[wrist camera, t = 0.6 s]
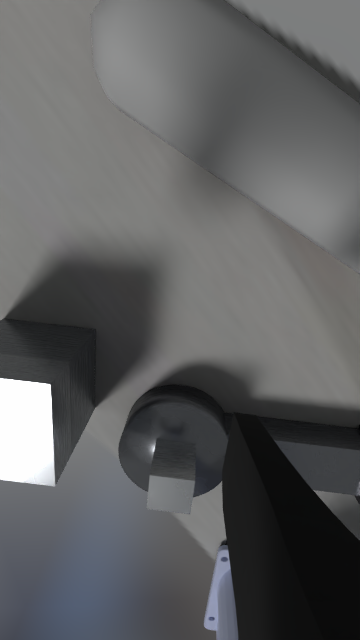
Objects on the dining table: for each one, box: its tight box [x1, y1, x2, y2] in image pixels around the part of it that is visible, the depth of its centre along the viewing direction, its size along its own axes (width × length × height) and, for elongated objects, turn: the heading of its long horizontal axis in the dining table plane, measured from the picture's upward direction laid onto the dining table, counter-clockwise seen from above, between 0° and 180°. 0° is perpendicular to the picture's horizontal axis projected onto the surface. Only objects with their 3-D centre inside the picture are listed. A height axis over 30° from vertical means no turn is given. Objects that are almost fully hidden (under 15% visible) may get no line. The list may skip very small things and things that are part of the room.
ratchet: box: [119, 385, 360, 514], centre depth 18 cm, size 6×23×5 cm, turn 84°
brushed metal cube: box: [0, 319, 96, 486], centre depth 17 cm, size 5×5×6 cm
